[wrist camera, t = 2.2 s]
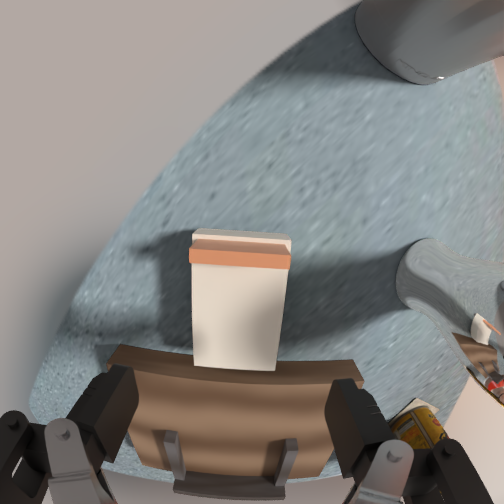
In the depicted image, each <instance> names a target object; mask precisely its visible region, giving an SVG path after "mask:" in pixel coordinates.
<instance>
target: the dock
mask: <svg viewBox="0 0 504 504" xmlns="http://www.w3.org/2000/svg"><path fill="white" fill-rule="evenodd" d="M115 363H116V364H121V365H126V366H131V367H132V368H133V370H134V374H135V379H136V384H137V388H138V392H139V404H138V407H137V409H136V412H135V414H134V416H133V418H132V421H131V423H130V425H129V428H128V433H129V435H130V438H131V440H132V442H133V445H134V447H135V449H136V452H137V454H138V456H139V458H140V461H141V463H142V465H145V466H149V467H153V468H158V469H162V470H167V471H172V472H173V475H174V478H175V481H174V486H173V491H174V492H175V493H179V494H186V495H192V496H199V497H207V498H217V499H231V500H284V499H285V487H284V486H285V483H286V481H287V479H295V478H308V477H317V476H319V475H320V473H321V471H322V470H323V468H324V466H325V464H326V463H327V461H328V459H329V457H330V455H331V453H332V452H333V450H334V446H333V443H332V440H331V436H330V433H329V430H328V427H327V423H326V420H325V415H324V409H325V404H326V401H327V398H328V395H329V391H330V388H331V385H332V382H333V380H335V379H347V378H352V379H353V380H354V381H355V383H356V385H357V387H358V389H361V388H362V386H363V383H364V379H363V377H362V376H361V374H360V372H359V370H358V368H357V366H356V364H355V362H354V361H353V360H335V361H276V367H275V371H260V370H240V369H225V368H214V367H203V366H194V355H186V354H178V353H170V352H163V351H157V350H150V349H144V348H138V347H133V346H127V345H122V344H120V345H119V347H118V348H117V349H116V351H115V352H114V353H113V355H112V356H111V358H110V359H109V360H108V362H107V363H106V365H107V369H108V371H109V369H110V368H111V366H112V365H113V364H115Z"/></svg>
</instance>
